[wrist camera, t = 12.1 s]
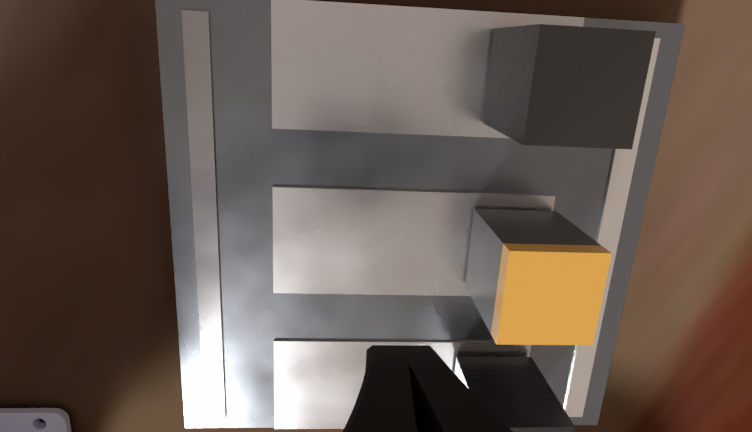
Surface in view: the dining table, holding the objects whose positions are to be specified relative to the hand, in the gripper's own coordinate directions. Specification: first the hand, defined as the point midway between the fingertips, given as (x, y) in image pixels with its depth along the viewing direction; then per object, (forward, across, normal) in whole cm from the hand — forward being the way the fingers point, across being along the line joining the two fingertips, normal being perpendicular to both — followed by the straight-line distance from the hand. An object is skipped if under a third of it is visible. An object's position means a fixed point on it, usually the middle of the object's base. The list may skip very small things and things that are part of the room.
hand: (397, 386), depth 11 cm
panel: (+10, -2, 0) cm, 10 cm away
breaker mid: (+8, -5, 0) cm, 10 cm away
